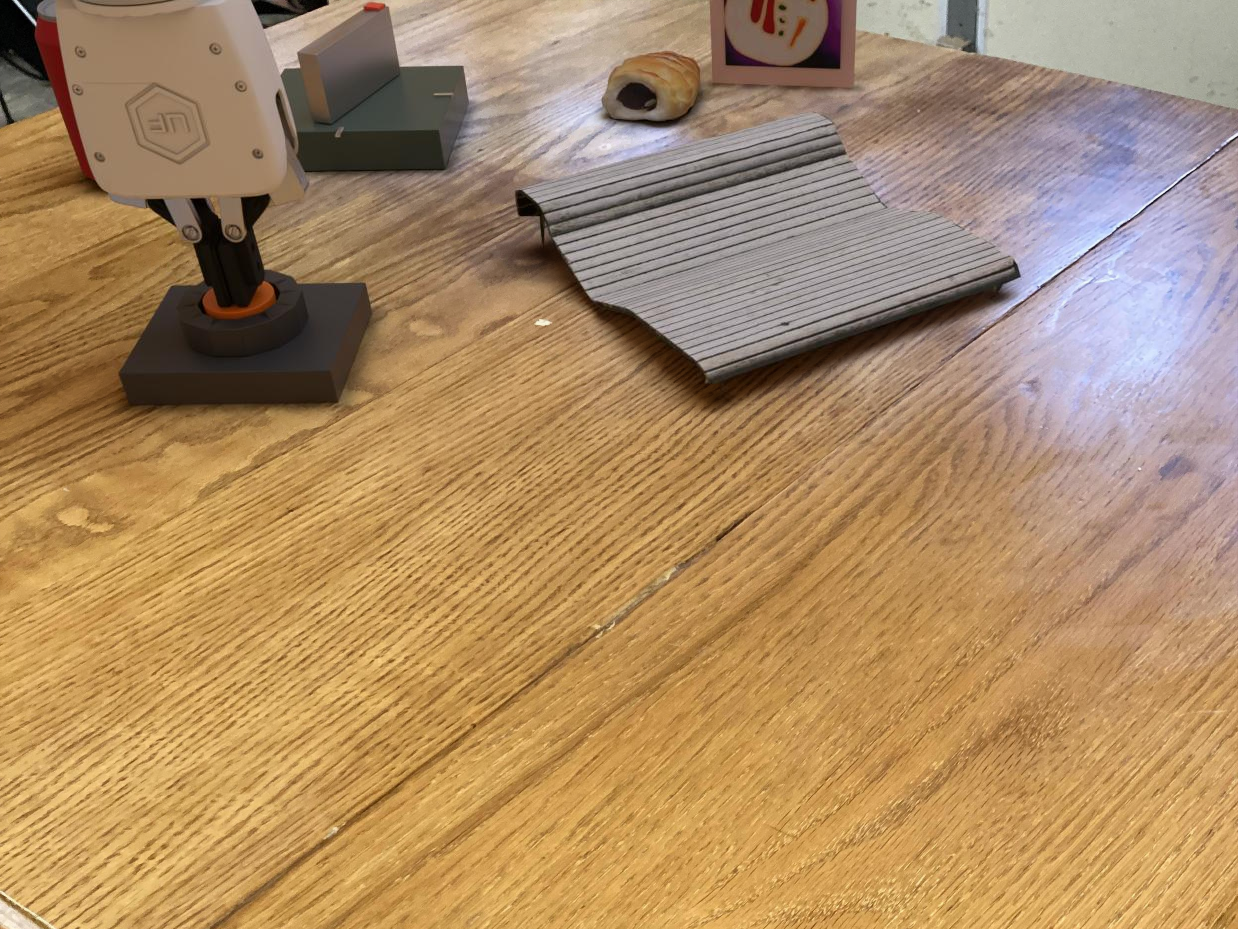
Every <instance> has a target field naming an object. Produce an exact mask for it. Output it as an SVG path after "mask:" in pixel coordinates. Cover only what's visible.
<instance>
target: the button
mask: <svg viewBox="0 0 1238 929" xmlns="http://www.w3.org/2000/svg"><path fill="white" fill-rule="evenodd" d="M276 302H277V300H276V296H275V292H274V289H273V287H272V286H271V285H270V284H269V283H267V282H265V281H263V283H262V285H260V286H259V287H258V288H257V290H256V292H255V294H254V296H253V298H252V300H251V302H250V304H249V306H248V307H238V306H237V305H235V304H234V303H233V305H230V307H219V306H218V304H217V300H216V297H215V294H214V290H213V288H212V289H210V290H209V291H208V292H207V293H206V294H205V296H204V298H203V305H204V308H205V312H206V315H208V316H211V317H214V318H217V319H240V318H244V317H247V316H251V315H255V314H258V313H261V312H263V311H264V310H266V309H268V308H269V307H271V306H272V305H274V304H275V303H276Z"/></svg>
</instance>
